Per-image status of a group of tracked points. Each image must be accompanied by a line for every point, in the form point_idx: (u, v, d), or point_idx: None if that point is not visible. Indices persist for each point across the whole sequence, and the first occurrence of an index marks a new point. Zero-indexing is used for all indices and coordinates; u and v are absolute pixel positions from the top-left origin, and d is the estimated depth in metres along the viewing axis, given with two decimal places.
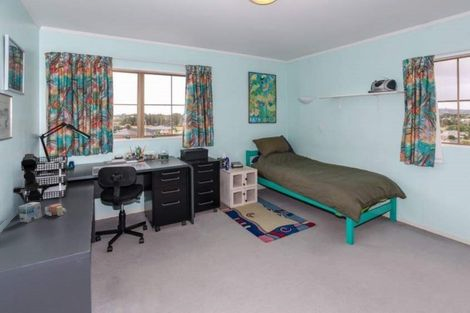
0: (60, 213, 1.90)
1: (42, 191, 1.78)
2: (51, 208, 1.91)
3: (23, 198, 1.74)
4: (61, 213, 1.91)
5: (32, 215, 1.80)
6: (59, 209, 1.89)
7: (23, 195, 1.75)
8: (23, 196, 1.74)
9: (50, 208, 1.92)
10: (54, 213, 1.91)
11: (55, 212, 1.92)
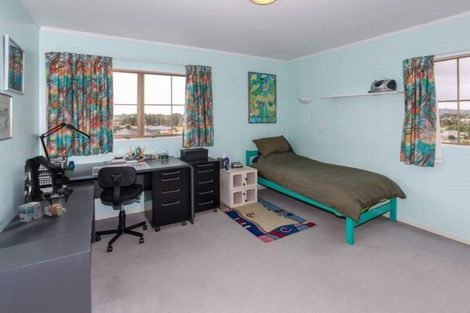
0: (60, 213, 1.90)
1: (67, 195, 1.93)
2: (51, 208, 1.91)
3: (51, 203, 1.85)
4: (61, 213, 1.91)
5: (32, 215, 1.80)
6: (59, 209, 1.89)
7: None
8: (51, 201, 1.85)
9: (50, 208, 1.92)
10: (54, 213, 1.91)
11: (55, 212, 1.92)
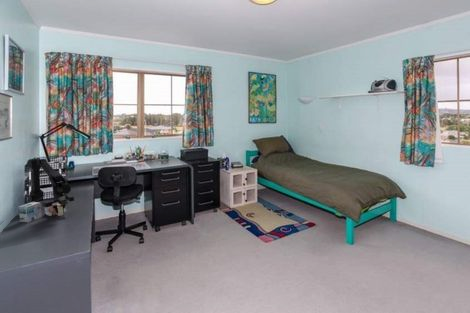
0: (60, 213, 1.90)
1: (64, 204, 1.91)
2: (51, 208, 1.91)
3: (57, 210, 1.89)
4: (61, 213, 1.91)
5: (32, 215, 1.80)
6: (59, 209, 1.89)
7: None
8: None
9: (50, 208, 1.92)
10: (54, 213, 1.91)
11: (55, 212, 1.92)
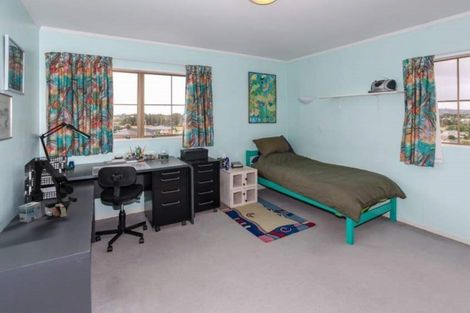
0: (63, 214, 1.88)
1: (67, 205, 1.89)
2: (54, 210, 1.89)
3: (60, 211, 1.86)
4: (64, 214, 1.88)
5: (32, 215, 1.80)
6: (62, 210, 1.87)
7: None
8: None
9: (53, 209, 1.90)
10: (57, 214, 1.89)
11: (58, 213, 1.89)
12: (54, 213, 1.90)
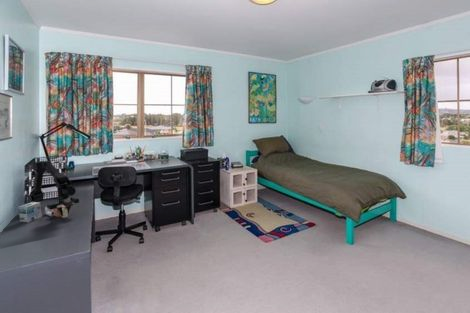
0: (65, 215, 1.86)
1: (69, 206, 1.87)
2: (55, 210, 1.88)
3: (62, 212, 1.84)
4: (66, 215, 1.87)
5: (32, 215, 1.80)
6: (64, 211, 1.86)
7: None
8: None
9: (54, 210, 1.89)
10: (58, 215, 1.87)
11: (59, 214, 1.88)
12: (56, 214, 1.88)
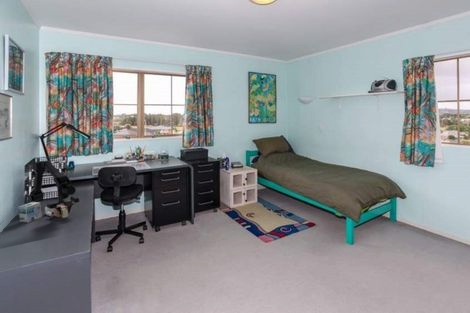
0: (65, 215, 1.86)
1: (70, 205, 1.88)
2: (56, 210, 1.87)
3: None
4: (66, 215, 1.87)
5: (32, 215, 1.80)
6: (64, 211, 1.85)
7: None
8: (60, 210, 1.84)
9: (54, 210, 1.88)
10: (59, 215, 1.87)
11: None
12: (56, 214, 1.88)
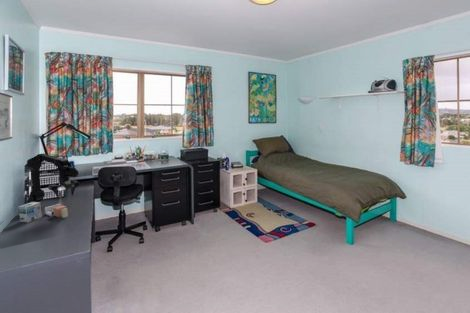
0: (65, 215, 1.86)
1: (74, 188, 1.97)
2: (56, 210, 1.87)
3: (58, 195, 1.90)
4: (66, 215, 1.87)
5: (32, 215, 1.80)
6: (64, 211, 1.85)
7: None
8: None
9: (54, 210, 1.88)
10: (59, 215, 1.87)
11: (60, 214, 1.88)
12: (56, 214, 1.88)
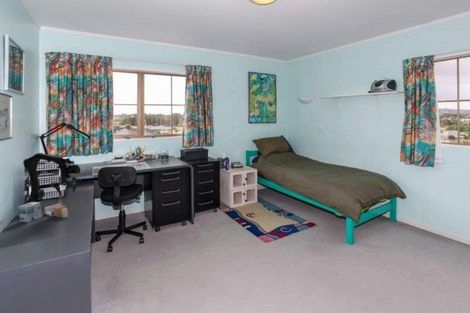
0: (65, 215, 1.86)
1: (75, 185, 2.03)
2: (56, 210, 1.87)
3: (60, 192, 1.95)
4: (66, 215, 1.87)
5: (32, 215, 1.80)
6: (64, 211, 1.85)
7: None
8: None
9: (54, 210, 1.88)
10: (59, 215, 1.87)
11: (60, 214, 1.88)
12: (56, 214, 1.88)
